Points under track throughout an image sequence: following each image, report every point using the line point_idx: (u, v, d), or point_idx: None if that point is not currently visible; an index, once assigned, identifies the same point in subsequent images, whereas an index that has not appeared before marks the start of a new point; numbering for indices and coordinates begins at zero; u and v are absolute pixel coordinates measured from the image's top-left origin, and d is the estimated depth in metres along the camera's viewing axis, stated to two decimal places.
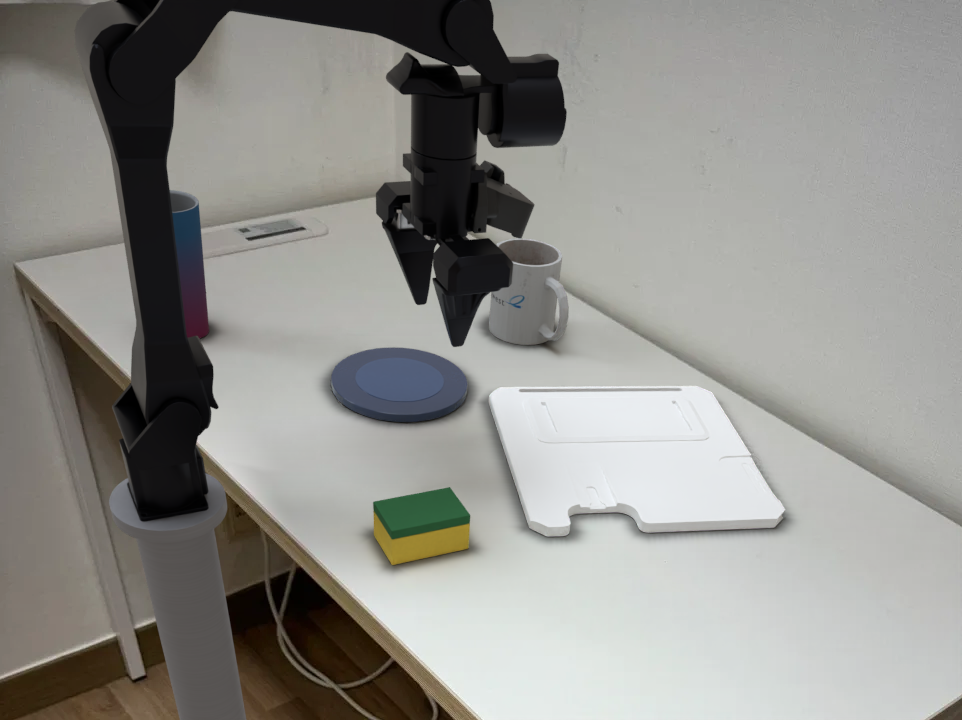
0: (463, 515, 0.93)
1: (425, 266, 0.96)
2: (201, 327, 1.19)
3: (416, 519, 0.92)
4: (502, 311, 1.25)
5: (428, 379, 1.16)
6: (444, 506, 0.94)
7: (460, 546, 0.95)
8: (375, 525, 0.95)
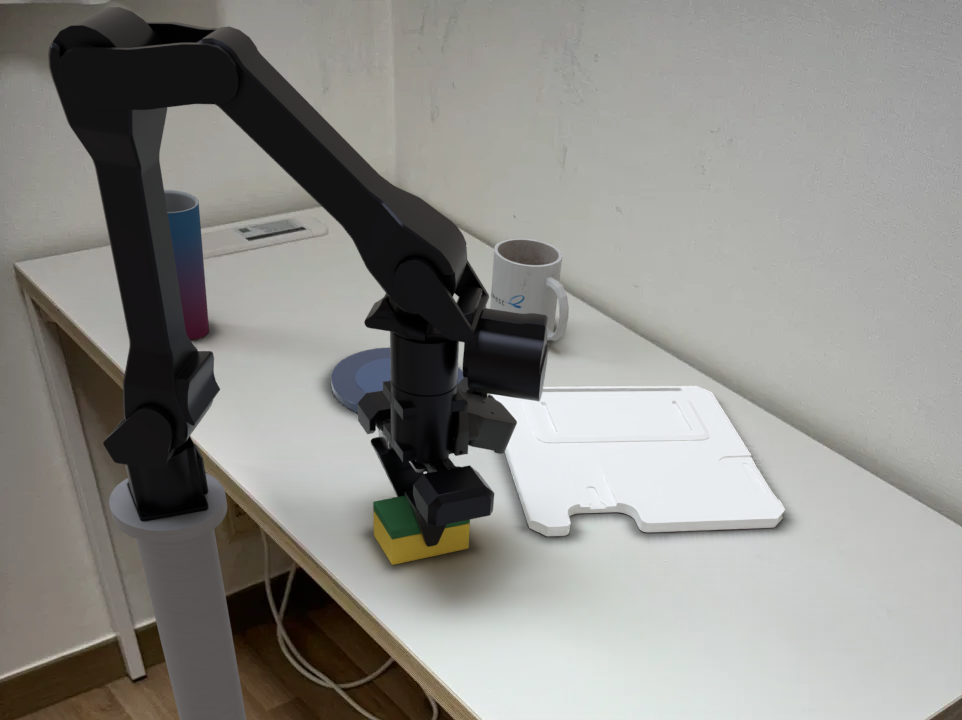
0: None
1: (416, 481, 0.94)
2: (201, 327, 1.19)
3: None
4: None
5: None
6: None
7: (460, 546, 0.95)
8: (375, 525, 0.95)
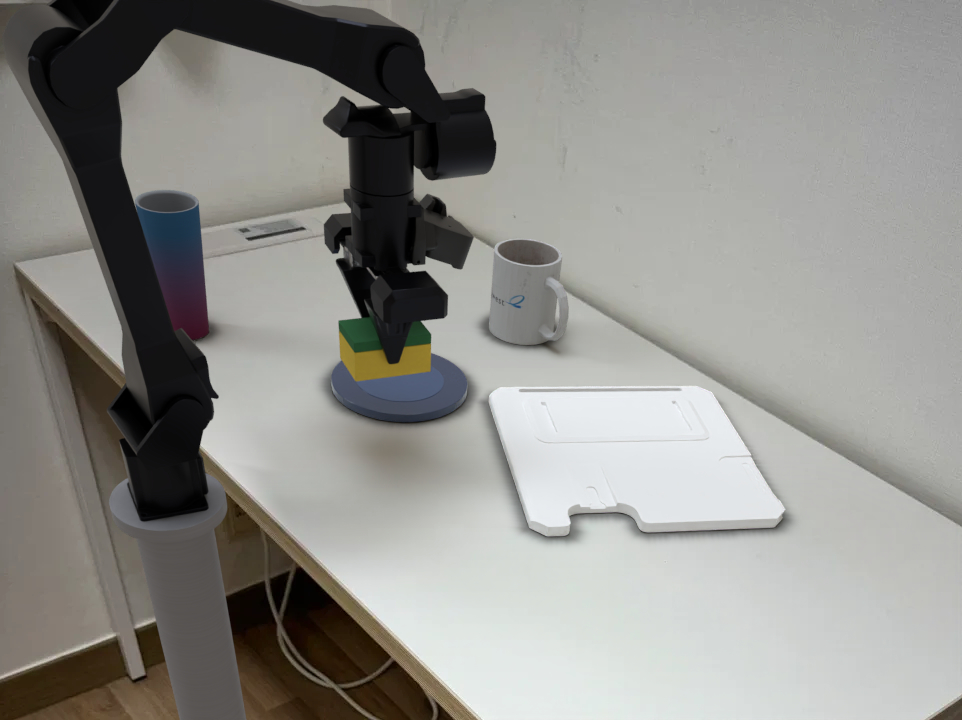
0: (424, 334, 0.97)
1: None
2: (201, 327, 1.19)
3: None
4: (502, 311, 1.25)
5: (428, 379, 1.16)
6: None
7: (422, 367, 0.99)
8: (341, 345, 0.99)
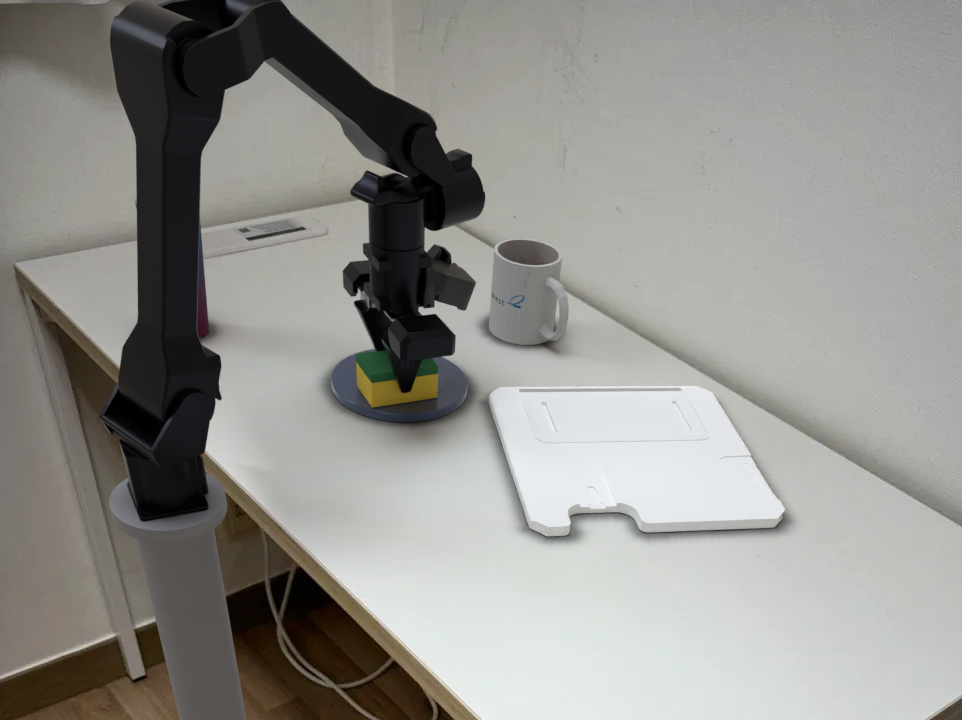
0: (432, 365, 1.10)
1: None
2: (201, 327, 1.19)
3: None
4: (502, 311, 1.25)
5: None
6: None
7: (430, 394, 1.13)
8: (358, 376, 1.12)
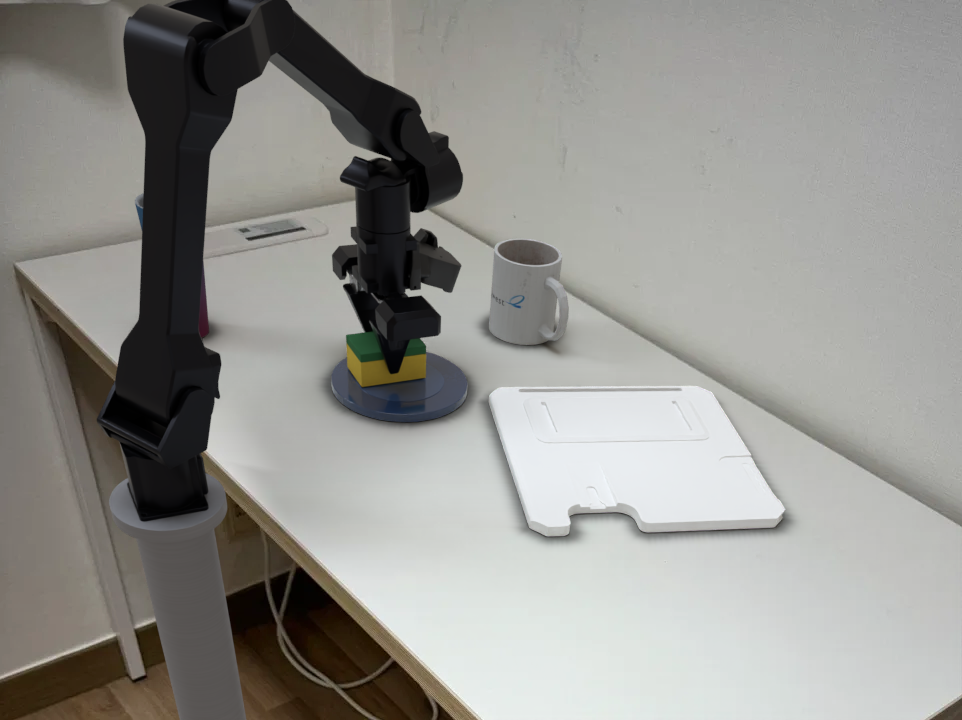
0: (420, 346, 1.13)
1: None
2: (201, 327, 1.19)
3: None
4: (502, 311, 1.25)
5: (428, 379, 1.16)
6: None
7: (418, 374, 1.15)
8: (348, 356, 1.14)
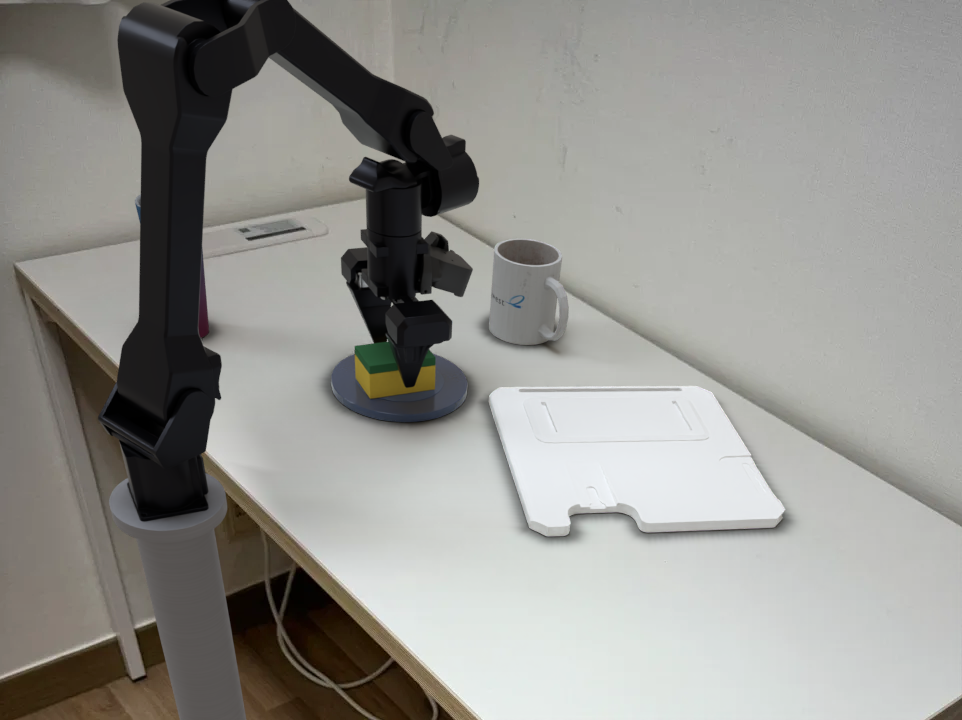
0: (429, 357, 1.12)
1: (384, 318, 1.14)
2: (201, 327, 1.19)
3: (390, 358, 1.10)
4: (502, 311, 1.25)
5: None
6: None
7: (427, 386, 1.14)
8: (356, 367, 1.13)
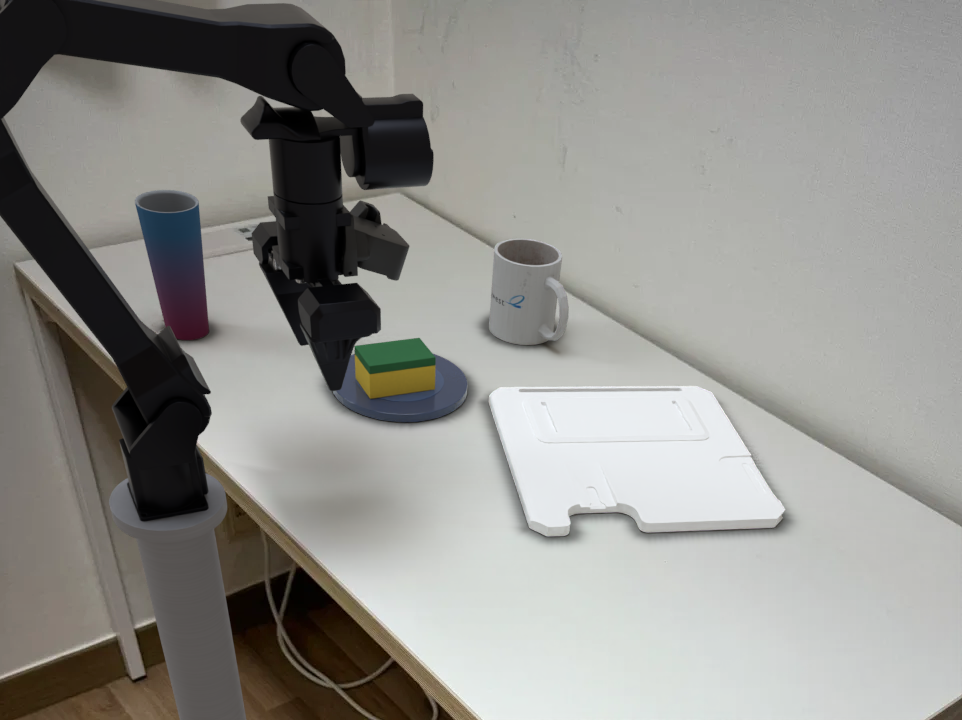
0: (429, 357, 1.12)
1: None
2: (201, 327, 1.19)
3: (390, 358, 1.10)
4: (502, 311, 1.25)
5: None
6: (414, 350, 1.12)
7: (427, 386, 1.14)
8: (356, 367, 1.13)
